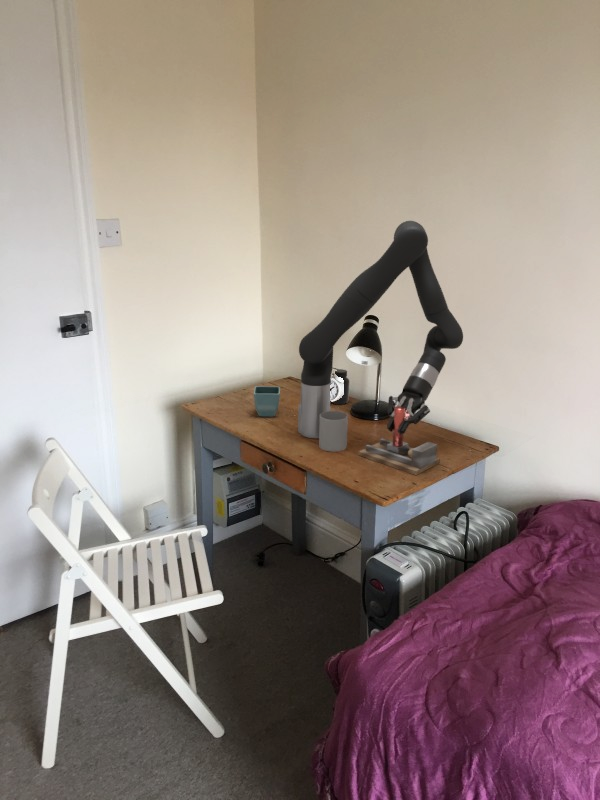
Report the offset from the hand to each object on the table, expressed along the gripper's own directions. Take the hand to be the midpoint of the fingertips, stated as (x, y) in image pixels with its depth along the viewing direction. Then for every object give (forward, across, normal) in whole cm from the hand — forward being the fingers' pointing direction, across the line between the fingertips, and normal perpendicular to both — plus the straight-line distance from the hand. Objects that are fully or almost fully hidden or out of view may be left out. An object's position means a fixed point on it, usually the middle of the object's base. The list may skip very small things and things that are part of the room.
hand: (394, 431), depth 186 cm
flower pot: (+5, -54, +8) cm, 55 cm away
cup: (+9, -19, +4) cm, 22 cm away
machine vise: (+5, +1, +8) cm, 9 cm away
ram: (+4, 0, +7) cm, 8 cm away
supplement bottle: (-15, -46, +28) cm, 55 cm away
